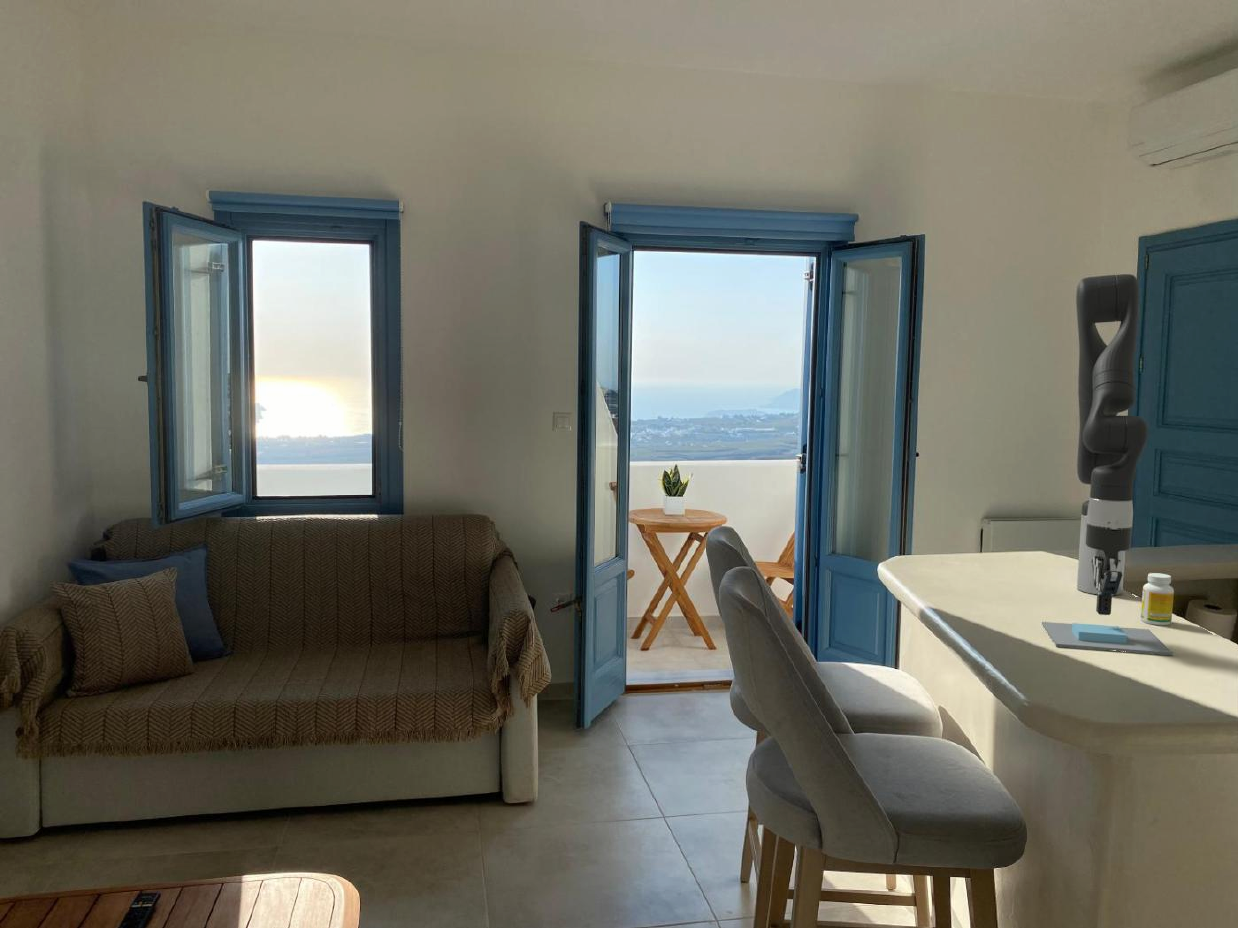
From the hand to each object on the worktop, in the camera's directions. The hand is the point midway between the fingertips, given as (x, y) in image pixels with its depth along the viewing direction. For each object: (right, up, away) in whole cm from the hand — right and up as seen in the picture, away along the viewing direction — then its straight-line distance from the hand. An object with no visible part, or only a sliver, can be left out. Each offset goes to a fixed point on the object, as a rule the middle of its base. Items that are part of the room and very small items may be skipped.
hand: (1103, 613), depth 177 cm
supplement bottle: (+16, -4, +11) cm, 20 cm away
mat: (0, -5, -1) cm, 5 cm away
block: (-1, -3, +1) cm, 3 cm away
